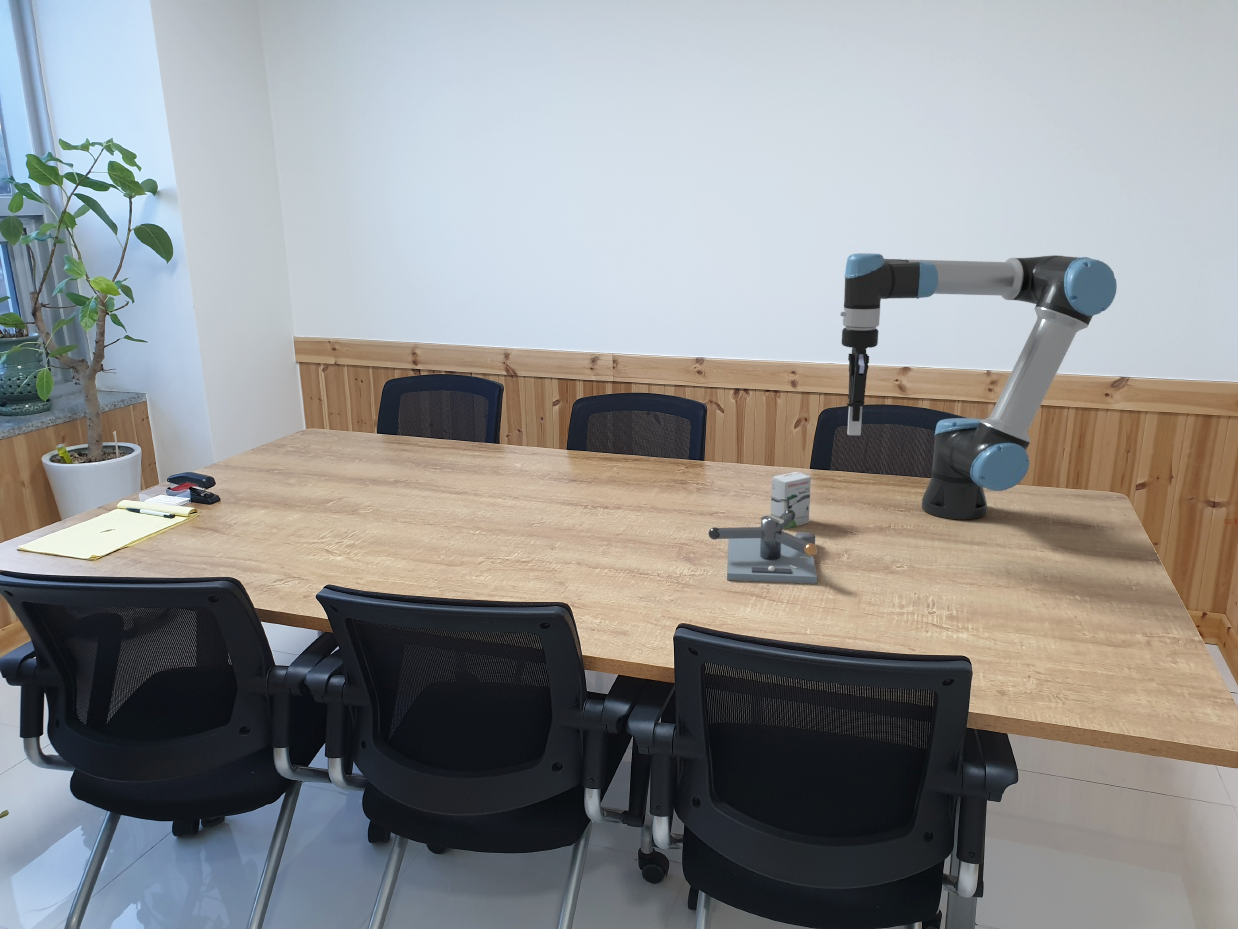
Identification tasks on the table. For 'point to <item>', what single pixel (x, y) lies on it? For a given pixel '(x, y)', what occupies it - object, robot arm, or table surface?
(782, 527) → the capstan
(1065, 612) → the table surface
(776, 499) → the ink box
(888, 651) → the table surface
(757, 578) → the stand
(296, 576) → the table surface
